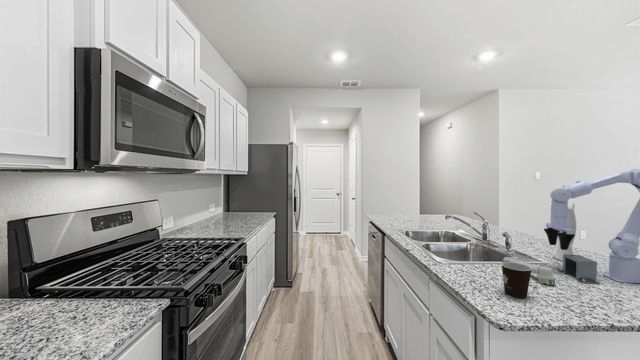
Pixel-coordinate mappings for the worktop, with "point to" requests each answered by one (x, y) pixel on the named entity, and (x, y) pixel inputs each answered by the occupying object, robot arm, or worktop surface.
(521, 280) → the coffee mug
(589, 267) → the bracket sleeve
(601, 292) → the worktop surface
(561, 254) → the skyscraper
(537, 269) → the light grey piece
